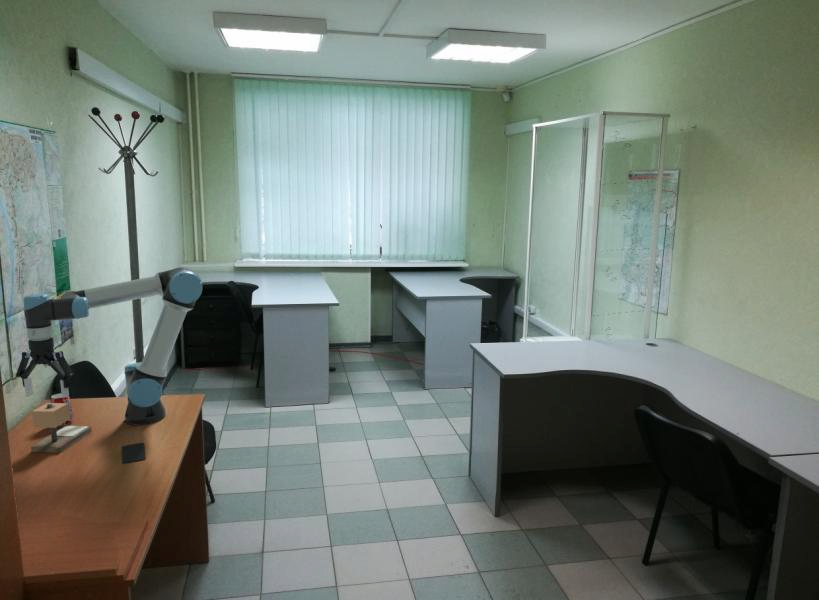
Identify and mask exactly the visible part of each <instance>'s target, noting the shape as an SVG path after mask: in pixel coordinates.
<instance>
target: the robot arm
mask: <svg viewBox="0 0 819 600" xmlns="http://www.w3.org/2000/svg"><path fill="white" fill-rule="evenodd" d="M202 293H203V282H202V280H201V277H200V276H199V275H198V274H197V273H195V272H194V271H193V270H192V269H189V268H187V267H175V268H173V269H168V270H165V271H159V272H156V273H155V275H153V276H149V277H147V276H146V277H142V278H137V279H133V280H128V281H122V282H119V283H112V284H107V285H102V286H96V287H92V288H87V289H86V288H85V289H80V290H77V291H76V290H74V291H73V290H70V291H66V292H64V293H63V294H62V295H61V296H60V298H53V299H52V298H49V295H48V294H46V293H34V294H32V293H31V294H28V295H25V296H24V297H23V299H22V301H23V313H24V320H25V321H24V322H25V327H26V335H27V339H28V341H27V342H28V349H29V350H28V349H27V350H25V351H22V352H21V360H20V361H19V365H18V368H17V370H16V373H15V377H16V378H21V380H22V381H21V382H22V387H23V388H24V391H25V397H31V396H33V395H34V389H33V379H32V376H30V375H31V374H32V372H33V370H34V369H35V368H36V366H38V365H42V366H46V365H47V366H49V367H50V368H51V369H52V370H53V371H54V372H55V373H56V374H57V375H58V376H59V378H61V379H60V380H59V382H60V389H61V390H60V393H62V398H65V397H67V396H70V391H69V388H70V386H71V384H70V378H73V377H74V376H75V373H74V371H73V370H72V368H71V366H70V364H69V363H68V361H67V359H66V358H65V357H64V352H63V351H62V350H60V351H57V352H55V351H54V348H55V343H54V337H53V326H52V321H60V320H74V319H75V320H76V319H77V320H79V319H83V318H88V317H89V315H90V314H89V313H90V312H89V311H90V310H91V309H96V308H100V307H106V306H111V305H116V304H120V303H124V302H130V301H135V300H139V299H145V298H151V297H155V296H161V297H162V301H163V304H164V305H163V307H162V309H161V312H160V315H159V318H158V320H157V323H156V325H155V328H154V330H153V333H152V336H151V338H150V341H149V343H148V346H147V348H146V351H145V353H144V356H143V358H142V361H140V362H134V363H129V364H127V365H125V367H124V372H123V373H124V375H125V376H124V378H125V386H126V394H127V397H126V398H127V406H126V409H125V413H124V419H125V420H124V421H126V422H127V423H126V422H125V423H126V424H128V423H129V425H133V424H134V425H136V426H137V425H138V426H139V425H140V426H141V425H145V424H146V425H148V424H152V423H155V421H156V422H158V421H160V419H161V420H162V419H164V418H165V417H166V415H167V413H166V408H165V406H164V404H163V402H162V400H161V398H162V395H163V387H164V384H165V381H166V378H167V375H168V374H167V372H166V368H167V364H168V362H169V359H170V356H171V354H172V352H173V349H174V346H175V344H176V341H177V339H178V337H179V336H178V335H179V334H180V331H181V328H182V326H183V323H184V320H185V318H186V315H187V314H188V312H190V311H192V310H193V309H194V307H195V304H196V301H197V300H199V298H200V297H201V295H202ZM30 357H31V361H30ZM29 361H30V362H29ZM164 416H165V417H164ZM163 417H164V418H163ZM157 420H158V421H157ZM151 422H152V423H151ZM147 423H148V424H147Z"/></svg>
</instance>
